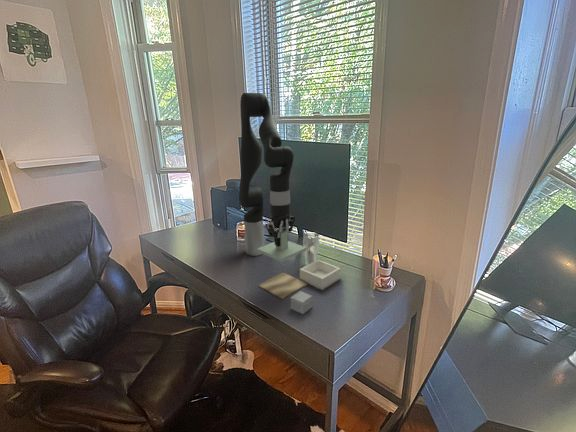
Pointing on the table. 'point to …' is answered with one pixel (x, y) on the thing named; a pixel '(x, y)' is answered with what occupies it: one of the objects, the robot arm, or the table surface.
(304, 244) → the beer glass
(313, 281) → the open square box
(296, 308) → the small box
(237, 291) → the table surface
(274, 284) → the mat
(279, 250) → the lid
